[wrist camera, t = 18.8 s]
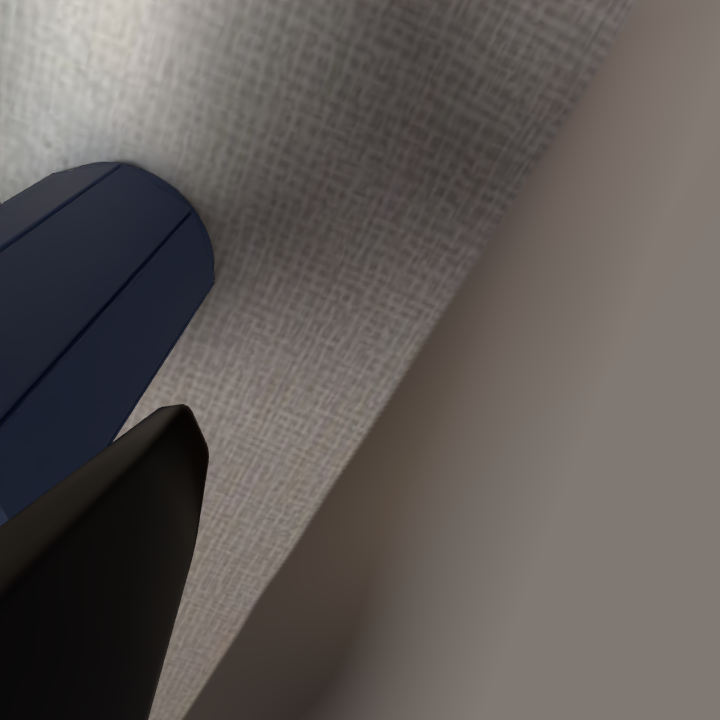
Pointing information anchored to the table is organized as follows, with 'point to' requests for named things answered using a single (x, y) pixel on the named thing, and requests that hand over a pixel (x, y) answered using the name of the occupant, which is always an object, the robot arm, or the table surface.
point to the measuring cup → (87, 314)
